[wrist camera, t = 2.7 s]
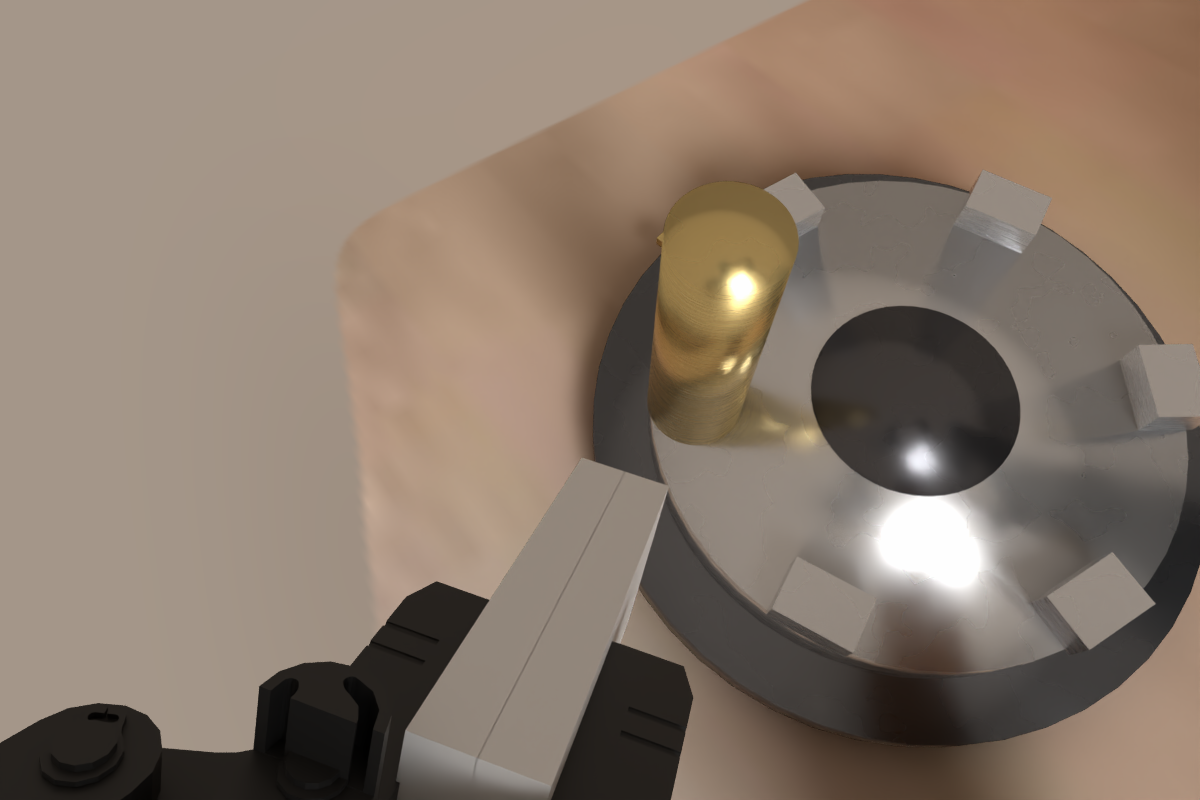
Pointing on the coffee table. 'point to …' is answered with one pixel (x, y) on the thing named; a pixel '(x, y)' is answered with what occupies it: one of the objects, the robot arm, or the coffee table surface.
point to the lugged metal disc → (913, 422)
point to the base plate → (834, 688)
